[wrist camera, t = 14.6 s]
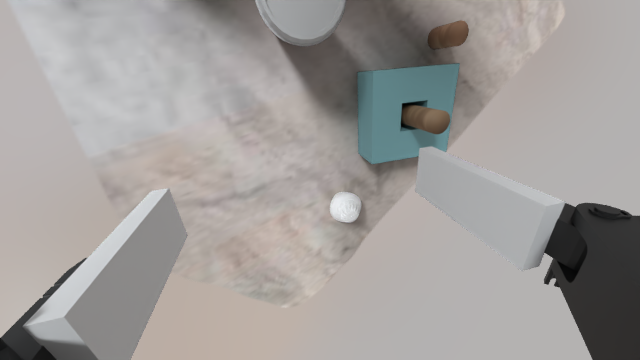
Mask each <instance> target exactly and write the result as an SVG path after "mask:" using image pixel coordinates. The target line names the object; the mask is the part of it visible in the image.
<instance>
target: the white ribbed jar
mask: <svg viewBox="0 0 640 360" xmlns="http://www.w3.org/2000/svg"><path fill="white" fill-rule="evenodd" d="M360 211H361V201H360V199H359V197H358V196H357V195H355V194H353V193H349V192H339V193H337V194H335V195H334V197H333V199H332V201H331V204H330V213H331V215H332V217H333V218H334V219H335V220H337V221H340V222H347V223H350V222H351V223H352V222H353V221H355V220H356V219H357V217H358V216H359V213H360Z"/></svg>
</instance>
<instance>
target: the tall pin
mask: <svg viewBox="0 0 640 360" xmlns="http://www.w3.org/2000/svg"><path fill="white" fill-rule="evenodd" d="M401 123H402V124H405V125H408V126H412V127H415V128H418V129H421V130H424V131H427V132H430V133H433V134H441V133H443V132H444V131H445V130H446V129H447V128H448V126H449V124H450V115H449V114H448V112H446V111H443V110H438V109H432V108H427V107H422V106H416V105H411V104H405V103H402V111H401Z"/></svg>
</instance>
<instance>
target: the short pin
mask: <svg viewBox="0 0 640 360" xmlns="http://www.w3.org/2000/svg"><path fill="white" fill-rule="evenodd" d="M468 31H469V29H468V25H467V23H466V22H465V21H457V22H453V23H450V24H446V25H443V26H439V27H436V28H434V29H432V30H431V32H430V33H429V36H428V44H429V46H430V48H432V49H440V48H447V47H453V46H459V45H461V44H463V43H464V42H465V40H466V38H467V36H468Z"/></svg>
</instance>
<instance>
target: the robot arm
mask: <svg viewBox="0 0 640 360" xmlns="http://www.w3.org/2000/svg"><path fill="white" fill-rule="evenodd" d="M415 192H417V193H418V194H420V195H421V196H422V197H424V198H425V199H426V200H428V201H429V202H430V203H432V204H433V205H434V206H435V207H437V208H438V209H440V210H441V211H442V212H444V213H445V214H446V215H448V216H449V217H450V218H452V219H453V220H454V221H456V222H457V223H458V224H460V225H461V226H462V227H464V228H465V229H466V230H468V231H469V232H470V233H472V234H473V235H474V236H476V237H477V238H478V239H480V240H481V241H482V242H484V243H485V244H486V245H488V246H489V247H490V248H492V249H493V250H494V251H496V252H497V253H498V254H500V255H501V256H502V257H504V258H505V259H506V260H508V261H509V262H510V263H512V264H513V265H515V266H516V267H517V268H518V269H520V270H521V271H523V270H527V269H531V268H534V267H538V266H539V265H540V262H541V260H542V257H543V255H544V253H546V254H548V255H549V256H551V257H552V258H553V260H552V263H551V265H550V267H549V269H548V272H547V274H546V276H545V279H544V284H549V282H550V280H551V279H552V278H556V282H555V284H554V286H556V287H560V289H561V291H562V293H563V295H564V297H565V300H566V302H567V304H568V306H569V308H570V311H571V313H572V315H573V317H574V319H575V322H576V324H577V326H578V328H579V330H580V332H581V335H582V337H583V339H584V341H585V344H586V346H587V348H588V350H589V353H590V355H591V357H592V359H593V360H640V216H632V215H631V214H629V213H628V212H626V211H623V210H620V209H617V208H614V207H611V206H607V205H601V204H595V203H582V204H579V205H577V206H576V207H574V206H571V205H569V204H566V203H565V201H563V200H560V199H557V198H555V197H553V196H550V195H548V194H546V193H543V192H541V191H538V190H536V189H534V188H531V187H529V186H526V185H524V184H521V183H519V182H517V181H514V180H512V179H509V178H507V177H505V176H502V175H500V174H497V173H495V172H492V171H490V170H488V169H485V168H483V167H480V166H478V165H475V164H473V163H471V162H468V161H466V160H463V159H461V158H459V157H456V156H454V155H451V154H449V153H446V152H444V151H442V150H439V149H437V148H434V147H432V146H431V147H424V148H419V158H418V168H417V178H416V188H415ZM187 236H188V235H187V232H186V230H185V227H184V225H183V222H182V220H181V217H180V215H179V212H178V210H177V207H176V205H175V202H174V200H173V197H172V195H171V192H170V189H169V188H168V189H161V190H155V191H151V192H150V193H149V194H148V195H147V196H146V197H145V198H144V199H143V200H142V201H141V202H140V203H139V205H138V206H137V207H136V208H135V209H134V210H133V211H132V212H131V213H130V214H129V215H128V216H127V217H126V218H125V219H124V220H123V221H122V222H121V223H120V224H119V226H118V227H117V228H116V229H115V230H114V231H113V232H112V233H111V234H110V235H109V236H108V237H107V238H106V239H105V240H104V241H103V242H102V243H101V244H100V246H99V247H98V248H97V249H96V250H95V251H94V252H93V253H92V254H91V255H90V256H89V257H88V258H85V259H83V260H82V261H81V262H79V263H78V264H76V265H75V266H74V267H72V268H71V269H69V270H68V271H67V272H66V273H65V274H64V275H63V276H62V277H61V278H60V279H59V280H58V281H57V282H56V283H55V284H54V286H53V287H51V288H50V289H49V290H48V291H47V292H46V293H45V294H44V295H43V298H40V299H39V300H38V301H37V302H36V303H35V304H34V305H33V306H32V307H31V308H30V309H29V310H28V311H27V312H26V313H25V314H24V315H23V316H22V317H21V318H20V319H19V320H18V321H17V322H16V323H15V324H14V325H13V326H12V327H11V328H10V329H9V330H8V331H7V332H6V333H5V334H4V335H3V336H2V337H1V338H0V360H131V357H132V355H133V353H134V351H135V349H136V347H137V344H138V342H139V340H140V338H141V336H142V333H143V331H144V329H145V327H146V325H147V323H148V320H149V318H150V316H151V314H152V312H153V310H154V307H155V305H156V303H157V301H158V299H159V297H160V294H161V292H162V290H163V288H164V286H165V283H166V281H167V279H168V277H169V275H170V273H171V270H172V268H173V266H174V264H175V262H176V260H177V257H178V255H179V253H180V251H181V249H182V247H183V244H184V242H185V240H186V238H187Z"/></svg>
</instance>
